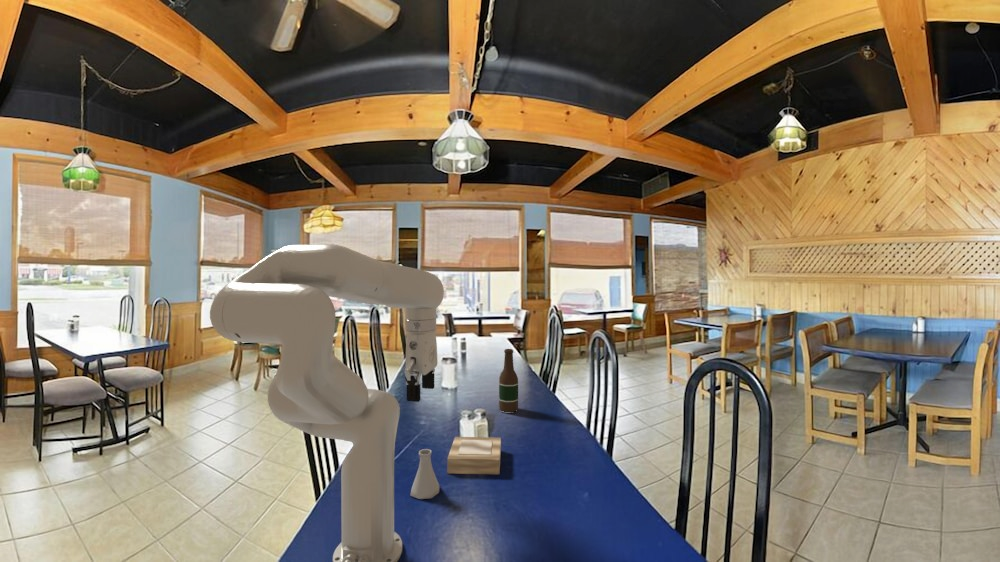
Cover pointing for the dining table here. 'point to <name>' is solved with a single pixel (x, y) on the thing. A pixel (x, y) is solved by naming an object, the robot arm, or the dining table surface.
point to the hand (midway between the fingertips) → (421, 394)
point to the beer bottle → (508, 385)
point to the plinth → (474, 455)
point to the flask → (425, 478)
